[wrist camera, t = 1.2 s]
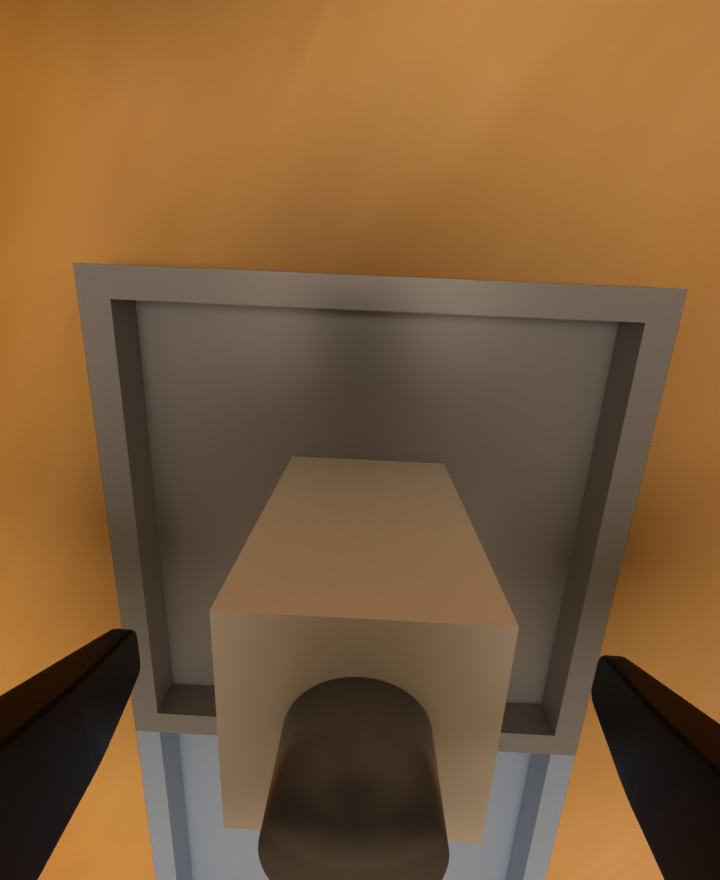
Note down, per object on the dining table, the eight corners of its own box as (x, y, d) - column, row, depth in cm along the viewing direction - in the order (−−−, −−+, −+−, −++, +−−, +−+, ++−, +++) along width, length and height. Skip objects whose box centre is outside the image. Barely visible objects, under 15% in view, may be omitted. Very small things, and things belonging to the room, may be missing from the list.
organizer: (647, 291, 12) (687, 289, 10) (504, 950, 20) (515, 1003, 19) (110, 268, 12) (72, 262, 11) (184, 930, 20) (169, 981, 19)
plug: (443, 463, 13) (565, 727, 5) (430, 594, 14) (508, 976, 6) (292, 456, 13) (159, 704, 5) (292, 586, 14) (187, 955, 6)
